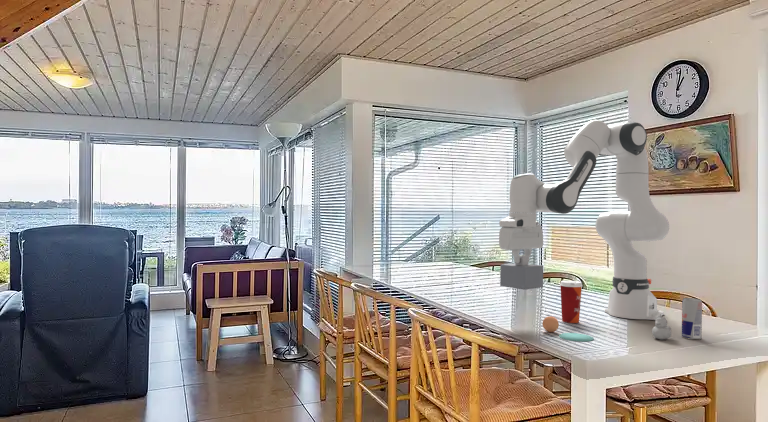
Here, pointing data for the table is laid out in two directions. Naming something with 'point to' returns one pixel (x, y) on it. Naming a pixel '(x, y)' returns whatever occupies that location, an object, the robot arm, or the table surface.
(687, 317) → the energy drink
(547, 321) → the ball
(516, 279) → the grey rectangular box
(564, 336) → the disc
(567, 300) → the paper cup
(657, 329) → the rubber duck
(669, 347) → the table surface
